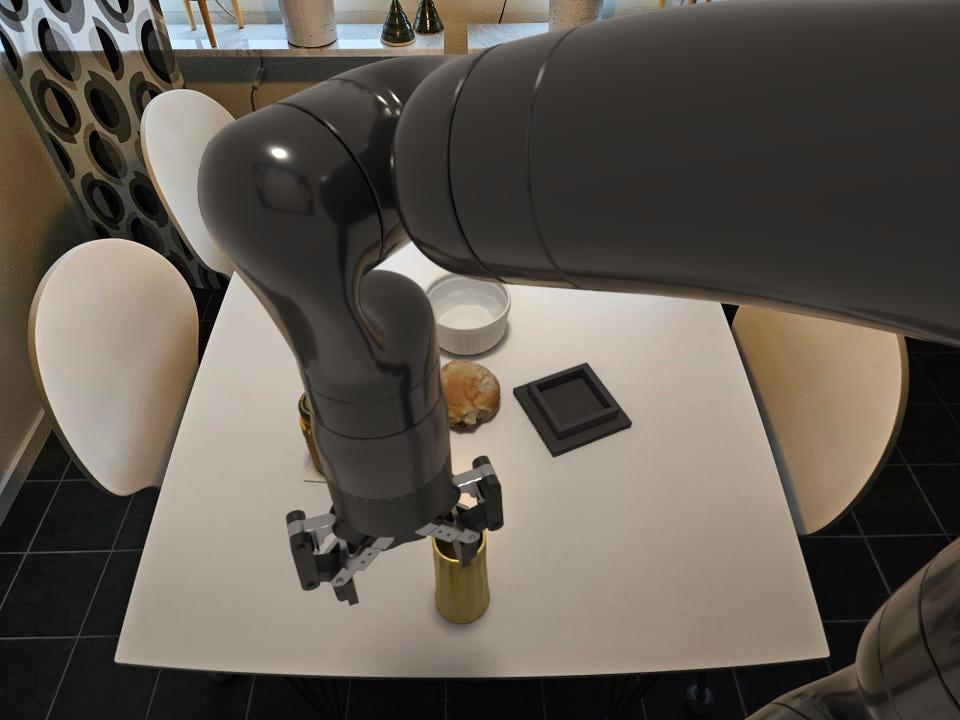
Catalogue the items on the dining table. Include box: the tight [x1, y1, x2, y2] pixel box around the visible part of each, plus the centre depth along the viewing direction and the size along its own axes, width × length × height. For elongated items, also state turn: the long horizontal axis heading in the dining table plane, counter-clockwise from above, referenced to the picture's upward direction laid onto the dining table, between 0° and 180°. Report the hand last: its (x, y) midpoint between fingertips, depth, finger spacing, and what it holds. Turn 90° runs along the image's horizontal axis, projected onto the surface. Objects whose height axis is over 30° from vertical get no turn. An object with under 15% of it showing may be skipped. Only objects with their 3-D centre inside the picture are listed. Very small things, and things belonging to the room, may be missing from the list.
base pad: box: [512, 361, 633, 458], centre depth 88 cm, size 12×12×3 cm
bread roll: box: [441, 359, 502, 431], centre depth 89 cm, size 10×10×8 cm
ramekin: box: [423, 271, 512, 356], centre depth 97 cm, size 13×13×7 cm
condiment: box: [297, 391, 327, 483], centre depth 80 cm, size 7×8×12 cm
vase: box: [430, 529, 491, 624], centre depth 67 cm, size 6×6×14 cm
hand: (408, 574), depth 48 cm, fingers open, 8 cm apart
